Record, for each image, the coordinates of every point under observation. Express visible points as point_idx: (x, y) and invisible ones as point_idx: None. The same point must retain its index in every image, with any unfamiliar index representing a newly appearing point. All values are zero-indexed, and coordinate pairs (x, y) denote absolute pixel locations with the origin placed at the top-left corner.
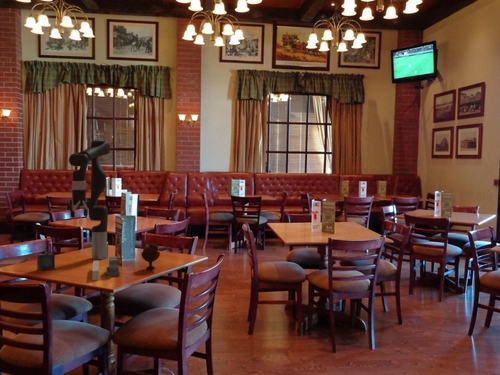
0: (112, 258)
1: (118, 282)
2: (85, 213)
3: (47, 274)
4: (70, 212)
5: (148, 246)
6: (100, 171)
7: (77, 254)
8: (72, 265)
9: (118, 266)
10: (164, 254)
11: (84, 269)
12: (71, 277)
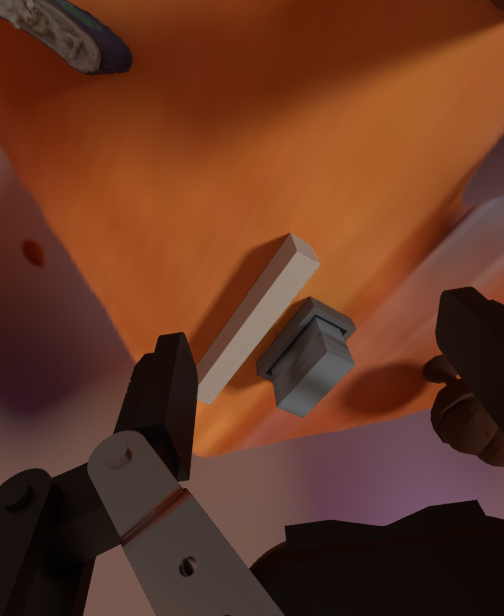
0: (310, 388)
1: (244, 428)
2: (462, 362)
3: (63, 164)
4: (119, 416)
5: (483, 447)
6: None
7: None
8: (263, 43)
9: (353, 330)
10: None
11: (260, 200)
12: (146, 291)
